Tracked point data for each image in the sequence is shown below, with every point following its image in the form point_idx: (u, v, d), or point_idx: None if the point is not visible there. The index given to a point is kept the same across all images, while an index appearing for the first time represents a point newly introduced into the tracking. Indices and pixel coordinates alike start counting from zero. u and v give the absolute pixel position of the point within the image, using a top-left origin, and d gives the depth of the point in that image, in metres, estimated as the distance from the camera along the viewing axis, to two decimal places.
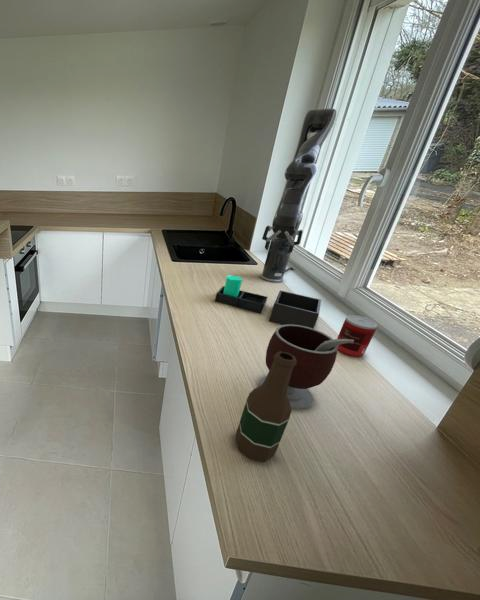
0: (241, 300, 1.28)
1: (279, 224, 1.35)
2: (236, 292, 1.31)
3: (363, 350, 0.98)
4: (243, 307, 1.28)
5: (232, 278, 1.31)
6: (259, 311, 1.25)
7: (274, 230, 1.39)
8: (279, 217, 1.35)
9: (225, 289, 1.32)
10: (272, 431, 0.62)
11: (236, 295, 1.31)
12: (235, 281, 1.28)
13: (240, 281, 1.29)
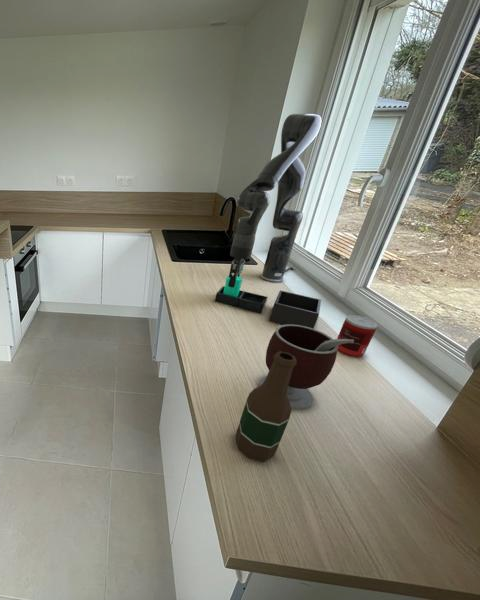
0: (241, 300, 1.28)
1: None
2: (236, 292, 1.31)
3: (363, 350, 0.98)
4: (243, 307, 1.28)
5: None
6: (259, 311, 1.25)
7: None
8: None
9: (225, 289, 1.32)
10: (272, 431, 0.62)
11: (236, 295, 1.31)
12: None
13: (240, 281, 1.29)
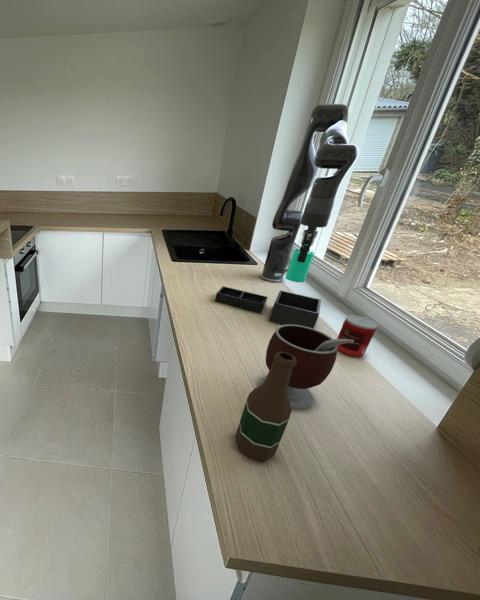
0: (241, 300, 1.28)
1: None
2: (306, 268, 1.12)
3: (363, 350, 0.98)
4: (243, 307, 1.28)
5: None
6: (259, 311, 1.25)
7: None
8: None
9: (292, 265, 1.14)
10: (272, 431, 0.62)
11: (306, 272, 1.13)
12: None
13: (312, 255, 1.10)
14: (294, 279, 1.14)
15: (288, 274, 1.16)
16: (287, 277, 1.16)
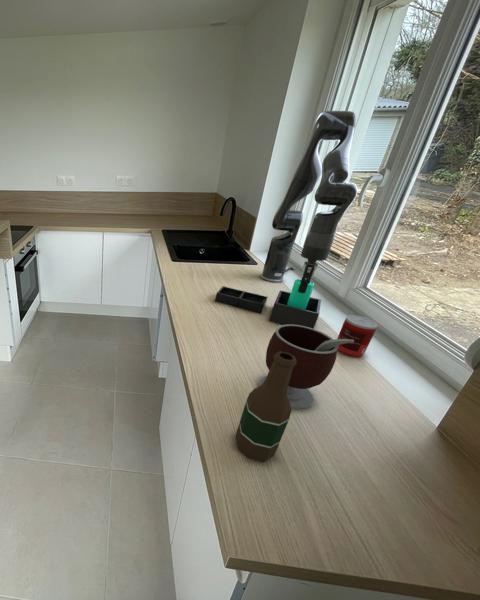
0: (241, 300, 1.28)
1: None
2: (306, 298, 1.15)
3: (363, 350, 0.98)
4: (243, 307, 1.28)
5: None
6: (259, 311, 1.25)
7: None
8: None
9: (293, 295, 1.17)
10: (272, 431, 0.62)
11: (306, 302, 1.15)
12: (307, 286, 1.13)
13: (312, 286, 1.13)
14: None
15: (289, 303, 1.19)
16: None
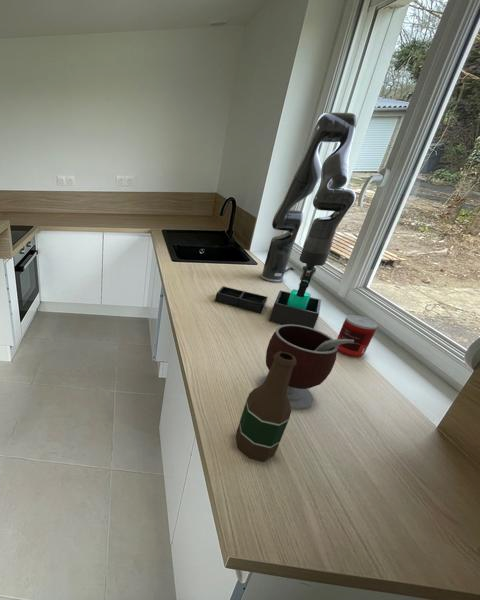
0: (241, 300, 1.28)
1: None
2: None
3: (363, 350, 0.98)
4: (243, 307, 1.28)
5: None
6: (259, 311, 1.25)
7: None
8: None
9: (289, 305, 1.19)
10: (272, 431, 0.62)
11: None
12: (303, 297, 1.14)
13: (308, 297, 1.15)
14: None
15: None
16: None
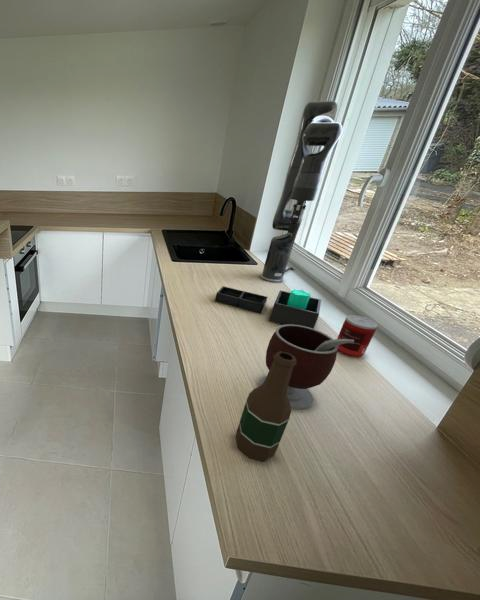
0: (241, 300, 1.28)
1: None
2: None
3: (363, 350, 0.98)
4: (243, 307, 1.28)
5: (298, 293, 1.17)
6: (259, 311, 1.25)
7: None
8: None
9: (289, 305, 1.19)
10: (272, 431, 0.62)
11: None
12: (303, 297, 1.14)
13: (308, 297, 1.15)
14: None
15: None
16: None
